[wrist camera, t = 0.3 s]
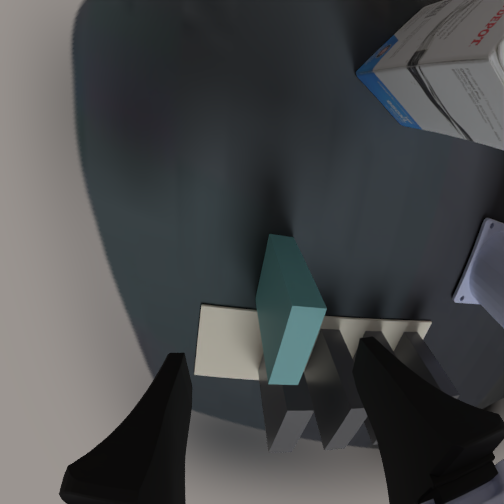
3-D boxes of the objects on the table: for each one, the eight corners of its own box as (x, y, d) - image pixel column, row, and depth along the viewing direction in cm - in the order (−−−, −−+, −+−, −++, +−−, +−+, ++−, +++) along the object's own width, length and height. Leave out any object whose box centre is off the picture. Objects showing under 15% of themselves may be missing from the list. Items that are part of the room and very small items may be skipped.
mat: (430, 321, 26) (431, 322, 25) (399, 377, 28) (400, 378, 28) (201, 304, 23) (201, 305, 23) (194, 372, 26) (194, 374, 25)
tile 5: (417, 331, 26) (459, 395, 18) (395, 371, 28) (427, 434, 20) (403, 331, 25) (445, 397, 18) (381, 372, 27) (413, 437, 20)
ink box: (401, 129, 18) (542, 173, 8) (351, 72, 17) (487, 54, 6) (465, 58, 16) (597, 64, 5) (424, 3, 14) (552, -30, 4)
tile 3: (339, 329, 24) (373, 407, 17) (320, 373, 27) (344, 448, 19) (320, 328, 24) (351, 408, 17) (303, 373, 26) (324, 450, 19)
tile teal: (293, 237, 21) (327, 308, 14) (277, 301, 23) (297, 385, 16) (269, 233, 21) (292, 305, 14) (255, 299, 23) (268, 383, 16)
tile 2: (291, 326, 24) (314, 410, 17) (276, 372, 26) (291, 452, 19) (270, 325, 24) (287, 410, 16) (258, 371, 26) (268, 452, 19)
